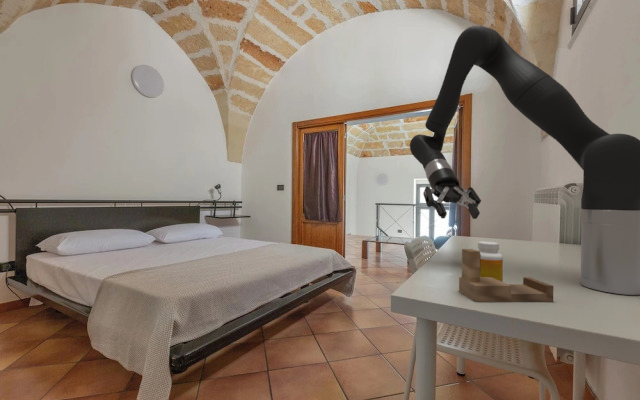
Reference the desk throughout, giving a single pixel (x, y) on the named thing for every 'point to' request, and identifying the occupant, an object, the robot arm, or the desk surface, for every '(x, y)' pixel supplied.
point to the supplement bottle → (490, 260)
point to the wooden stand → (498, 284)
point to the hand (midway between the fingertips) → (460, 216)
